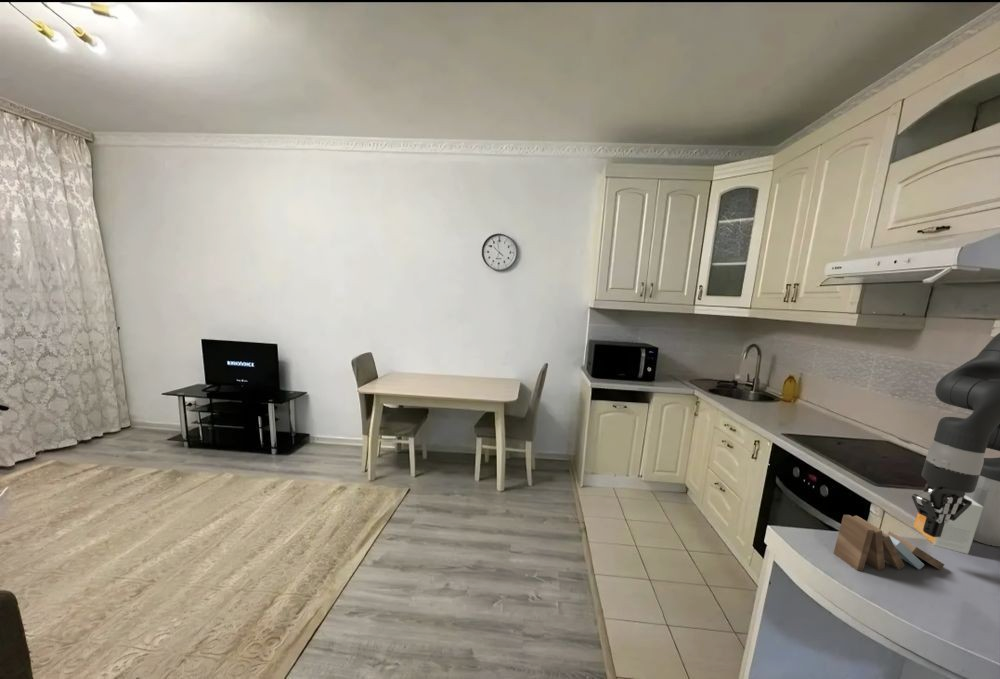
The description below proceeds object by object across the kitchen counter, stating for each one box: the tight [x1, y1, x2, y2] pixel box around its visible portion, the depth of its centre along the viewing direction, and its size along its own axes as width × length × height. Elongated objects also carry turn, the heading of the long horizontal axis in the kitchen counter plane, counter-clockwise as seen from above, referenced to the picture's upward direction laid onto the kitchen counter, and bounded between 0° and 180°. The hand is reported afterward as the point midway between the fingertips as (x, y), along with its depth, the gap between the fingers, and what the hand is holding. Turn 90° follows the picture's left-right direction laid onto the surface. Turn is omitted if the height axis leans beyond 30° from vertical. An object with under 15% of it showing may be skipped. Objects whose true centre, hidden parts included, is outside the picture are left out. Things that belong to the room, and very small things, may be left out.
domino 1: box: [833, 514, 874, 572], centre depth 79 cm, size 2×5×10 cm, turn 6°
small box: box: [913, 483, 983, 555], centre depth 90 cm, size 8×6×13 cm
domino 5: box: [887, 530, 945, 571], centre depth 81 cm, size 2×5×10 cm
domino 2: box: [852, 515, 886, 571], centre depth 80 cm, size 2×5×10 cm, turn 5°
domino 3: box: [882, 530, 906, 571], centre depth 80 cm, size 2×5×10 cm
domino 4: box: [883, 531, 925, 570], centre depth 81 cm, size 2×5×10 cm
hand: (931, 534), depth 81 cm, fingers closed
